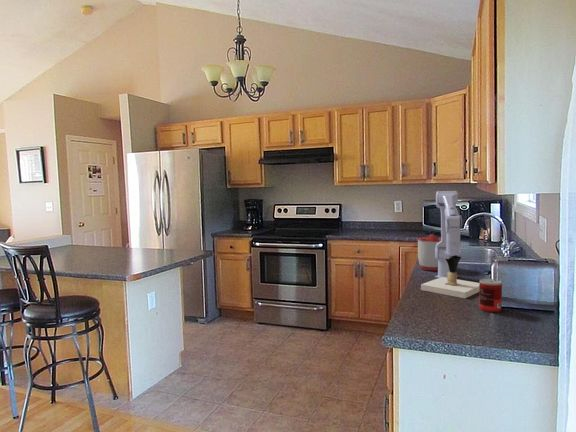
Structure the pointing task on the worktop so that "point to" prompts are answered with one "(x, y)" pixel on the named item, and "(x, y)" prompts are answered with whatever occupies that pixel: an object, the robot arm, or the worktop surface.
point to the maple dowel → (452, 278)
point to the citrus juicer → (428, 252)
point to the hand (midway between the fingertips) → (452, 272)
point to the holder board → (451, 287)
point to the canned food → (490, 295)
